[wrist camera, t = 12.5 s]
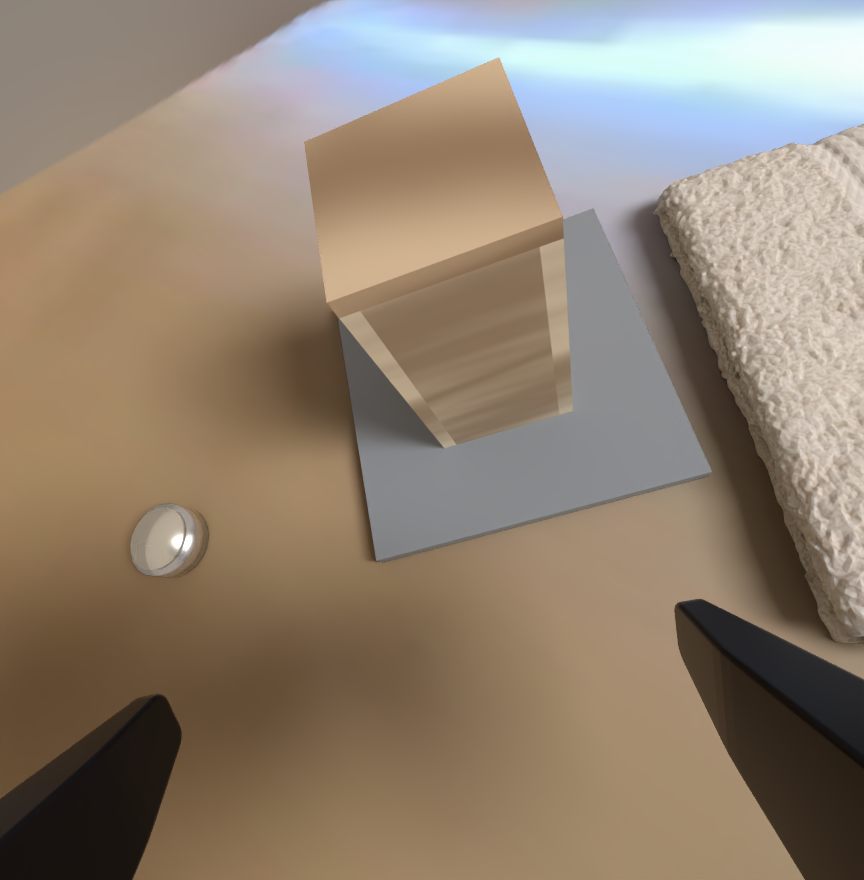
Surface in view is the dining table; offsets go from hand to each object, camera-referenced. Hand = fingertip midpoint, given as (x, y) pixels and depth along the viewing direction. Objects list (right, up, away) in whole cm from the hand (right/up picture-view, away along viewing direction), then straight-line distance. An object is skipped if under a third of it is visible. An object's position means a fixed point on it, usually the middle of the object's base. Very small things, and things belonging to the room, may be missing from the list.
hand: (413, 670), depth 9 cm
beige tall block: (+3, +7, +11) cm, 13 cm away
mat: (+3, +6, +12) cm, 14 cm away
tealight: (-11, -1, +13) cm, 17 cm away
